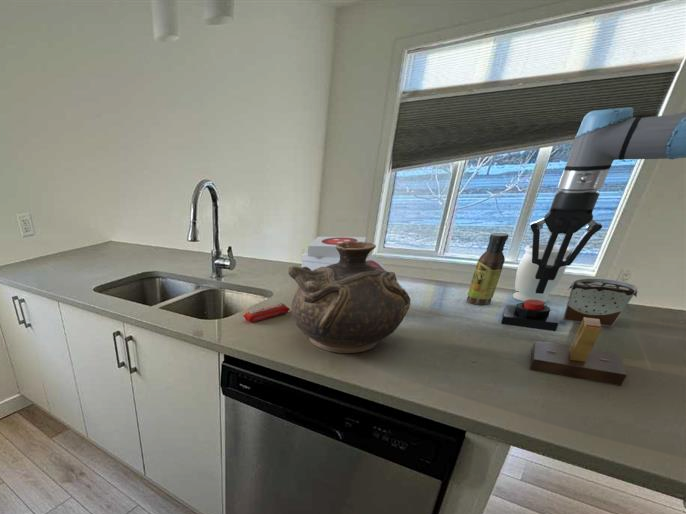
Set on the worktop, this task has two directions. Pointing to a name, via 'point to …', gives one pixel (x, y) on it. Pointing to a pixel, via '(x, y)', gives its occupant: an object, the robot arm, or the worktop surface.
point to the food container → (598, 300)
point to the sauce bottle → (488, 271)
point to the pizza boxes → (332, 253)
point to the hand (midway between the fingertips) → (539, 291)
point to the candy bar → (266, 312)
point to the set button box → (530, 317)
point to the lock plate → (578, 363)
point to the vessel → (348, 301)
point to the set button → (534, 304)
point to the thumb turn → (585, 339)
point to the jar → (528, 270)
